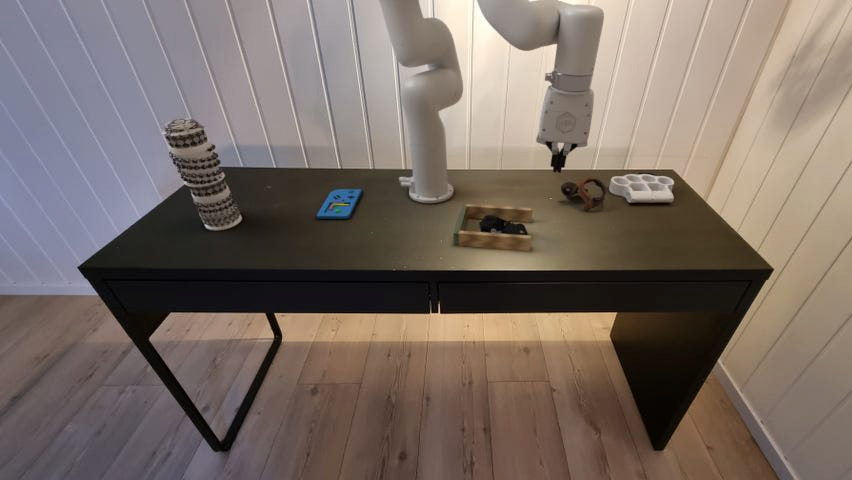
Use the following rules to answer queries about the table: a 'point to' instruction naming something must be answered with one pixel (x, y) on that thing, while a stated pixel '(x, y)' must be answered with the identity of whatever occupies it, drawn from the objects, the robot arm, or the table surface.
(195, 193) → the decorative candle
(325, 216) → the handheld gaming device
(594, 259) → the table surface
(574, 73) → the robot arm
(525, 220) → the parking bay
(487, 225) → the toy car
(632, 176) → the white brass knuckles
